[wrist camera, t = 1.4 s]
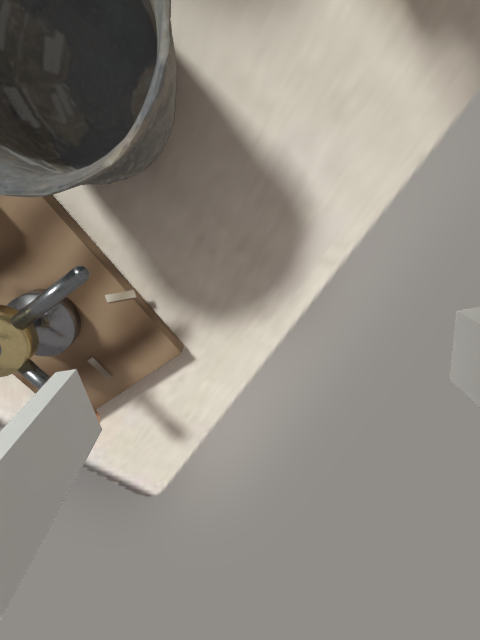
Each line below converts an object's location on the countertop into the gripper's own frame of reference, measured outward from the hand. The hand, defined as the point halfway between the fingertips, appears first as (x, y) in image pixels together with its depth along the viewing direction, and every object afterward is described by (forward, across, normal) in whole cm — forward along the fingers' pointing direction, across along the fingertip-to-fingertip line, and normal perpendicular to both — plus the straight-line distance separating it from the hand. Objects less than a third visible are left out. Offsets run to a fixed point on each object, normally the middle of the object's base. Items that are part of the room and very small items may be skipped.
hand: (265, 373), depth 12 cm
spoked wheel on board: (+26, -23, -3) cm, 35 cm away
